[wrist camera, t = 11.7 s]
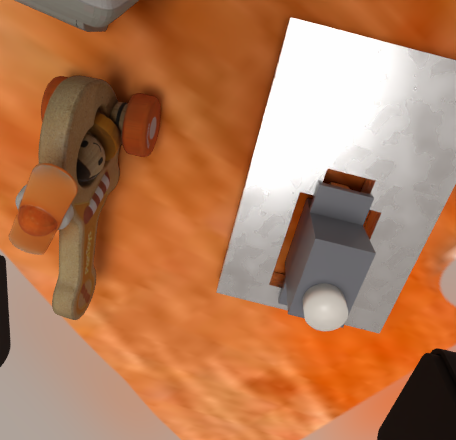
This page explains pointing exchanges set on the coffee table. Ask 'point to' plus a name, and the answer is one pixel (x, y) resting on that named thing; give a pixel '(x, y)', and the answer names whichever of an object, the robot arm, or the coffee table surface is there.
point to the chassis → (347, 158)
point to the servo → (328, 257)
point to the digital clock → (83, 11)
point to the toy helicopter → (79, 177)
